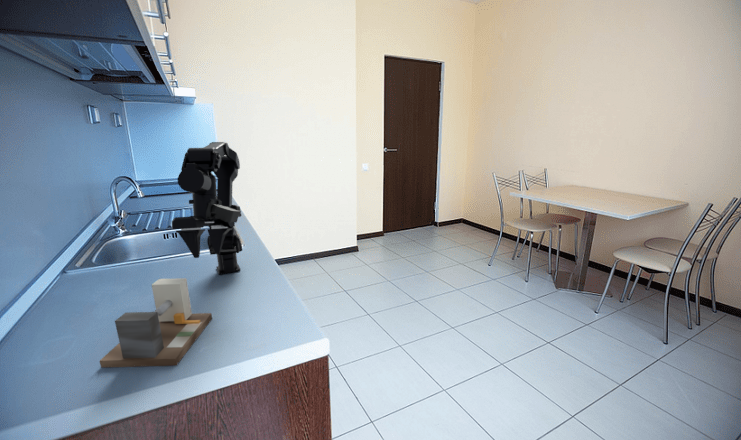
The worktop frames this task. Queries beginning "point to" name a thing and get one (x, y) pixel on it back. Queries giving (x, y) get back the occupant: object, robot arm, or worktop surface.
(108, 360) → the board
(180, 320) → the drag pointer
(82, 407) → the worktop surface
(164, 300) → the cream eraser-shaped block
